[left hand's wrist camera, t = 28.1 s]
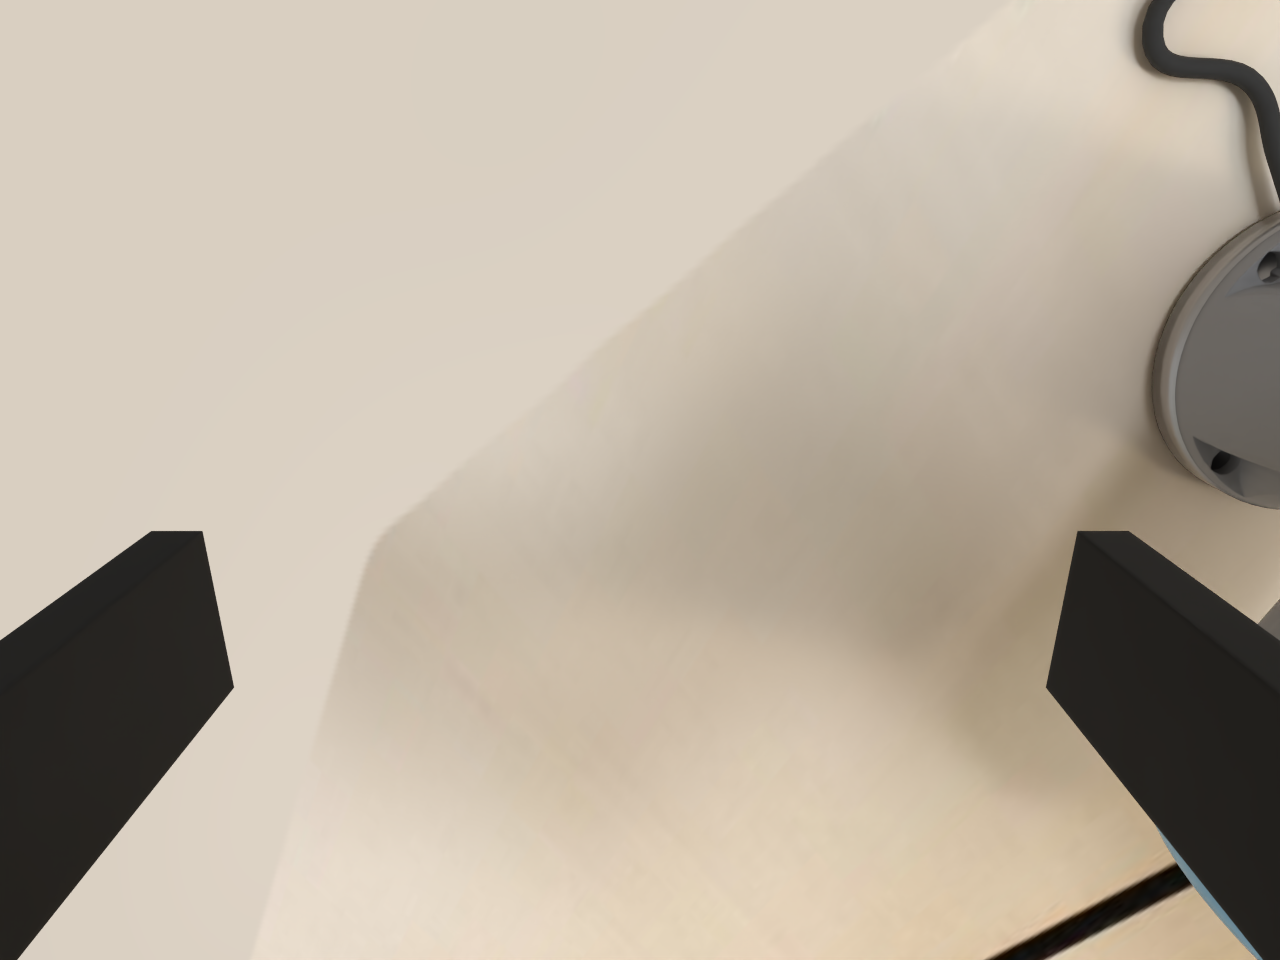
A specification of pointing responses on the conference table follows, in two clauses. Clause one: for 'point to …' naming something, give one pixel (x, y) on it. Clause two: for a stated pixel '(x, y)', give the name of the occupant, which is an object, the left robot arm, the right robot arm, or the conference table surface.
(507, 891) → the conference table surface
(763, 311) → the conference table surface
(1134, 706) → the left robot arm
